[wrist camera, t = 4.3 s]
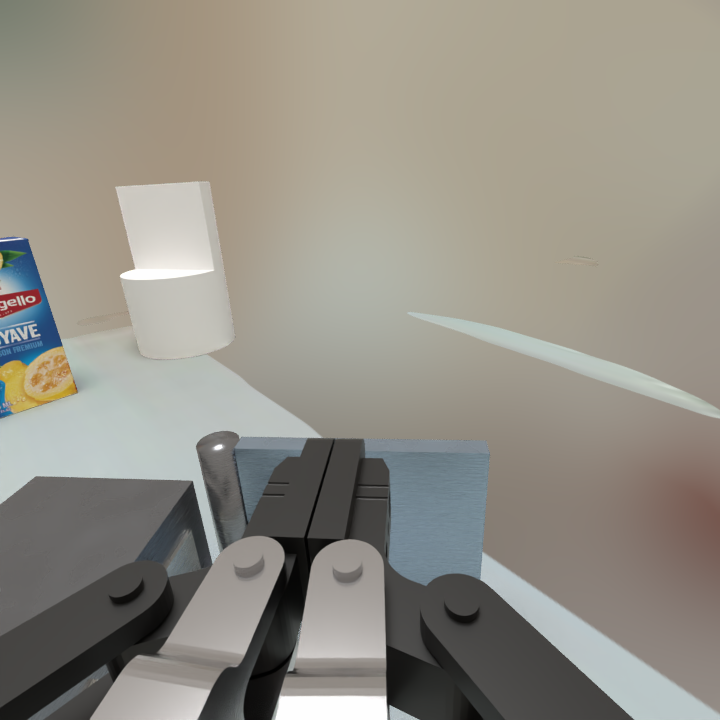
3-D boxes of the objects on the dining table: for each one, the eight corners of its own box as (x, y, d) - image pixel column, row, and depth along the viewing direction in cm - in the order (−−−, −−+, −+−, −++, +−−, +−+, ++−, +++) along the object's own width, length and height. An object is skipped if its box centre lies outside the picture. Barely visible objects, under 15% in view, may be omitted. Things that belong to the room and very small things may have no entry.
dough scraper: (225, 608, 29) (188, 453, 24) (238, 578, 31) (207, 430, 26) (478, 625, 27) (491, 460, 22) (473, 591, 29) (484, 434, 24)
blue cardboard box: (78, 392, 64) (28, 238, 56) (-15, 423, 56) (-89, 250, 48) (63, 381, 68) (14, 236, 60) (-25, 408, 61) (-96, 247, 52)
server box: (148, 1075, 14) (36, 931, 10) (-214, 1003, 16) (-442, 854, 12) (294, 574, 32) (276, 447, 28) (118, 564, 34) (76, 444, 29)
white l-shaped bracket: (182, 326, 93) (152, 185, 82) (252, 330, 87) (229, 181, 77) (117, 355, 78) (70, 188, 67) (197, 363, 72) (160, 182, 62)
